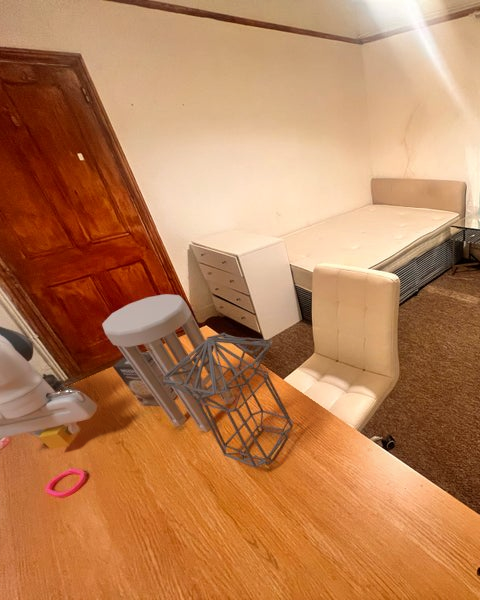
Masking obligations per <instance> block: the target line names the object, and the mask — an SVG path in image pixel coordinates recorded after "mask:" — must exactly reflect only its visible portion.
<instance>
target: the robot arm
mask: <svg viewBox="0 0 480 600" xmlns="http://www.w3.org/2000/svg"><path fill="white" fill-rule="evenodd" d="M33 355H34V344H33V341H32V340H31V338H29V337H28V336H26V335H25V334H22V333H21V332H18V331H15V330H12V329H10V328H6V327H3V326H0V439H4V438H8V437H13V436H18V435H23V434H28V435H29V436H34V437H39V436H40V435H41V433H42V432H43V431H44V430H45V429H46V428H51V427H55V426H60V425H64V426H68V429H67V430H66V431H65V432H66V433H68V435H72V434H76V433H77V432H78V430H79V427H80V426H79V425H78V423H77V422H82V421H86V420H90V419H91V418H92V417H93V416H94V415H95V413H96V412H97V410H98V405H97V403H96V402H95V401H94V400H92V398H90V397H89V396H88V395H87V394H85V393H84V392H82V391H80V390H76V389H75V390H71V389H67V390H64V391H58V392H55V391H54V390H53V388H52V387H51V386H50V385H49V384H48V383H47V382H46V381H45V380H44V379H43V378H42V377H43V376H42V375H40V374H39V373H37V372H35V371H34V370H33V369H32V366H31V364H30V363H29V362H30V361H31V360H32V359H33ZM76 424H77V425H78V426H79V427H78V426H77V425H76Z"/></svg>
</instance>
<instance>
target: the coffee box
mask: <svg viewBox="0 0 480 600" xmlns="http://www.w3.org/2000/svg"><path fill="white" fill-rule="evenodd" d="M141 353H142V354H143V355H144V357H145V358H146V360H147V361H148V363H149V364H150V366H151V367H152V369H153V370H154V372H155V373H156V375H157V376H158V378H159V379H160V381H161V382H162V383H163V380H164V375H163V373H162V372H161V370H160V369H159V367H158V365H157V364H156V362H155V361H154V359H153V358H152V356H151V355H150V353H149V352H148V351H141ZM112 368H113V369H114V371H115V372H116V373H117V374H118V376H119V377H120V379H122V381H123V382H124V384H125V385H126V387H127V389H128V390H129V391H130V392H131V394H133V396H134V397H135V399H136V400H137V401H138V402H139V404H140V405H141V406H149V407H150V406H151V407H152V406H153V407H161V406H160V405H159V403H158V402H157V401H156V399H155V398H154V396H153V395H152V394H151V392H150V391H149V389H148V388H147V387H146V385H145V384H144V383H143V381H142V380H141V378H140V377H139V376H138V374H137V373H136V371H135V370H134V369H133V367H132V366H131V365H130V363H129V362H128V360H127V359H126V358H125V356H123V357H122V358H120V359H119V360H118V361H117V362H116V363H115V364H113V366H112ZM163 385H164V386H165V385H166V384H165V383H163ZM173 391H174V390H173V388H171V389H169V390H168V392H169V394H170V393H172V392H173ZM175 398H177V396H176V397H175ZM175 398H174V399H173V400H174V401H175Z"/></svg>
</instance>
